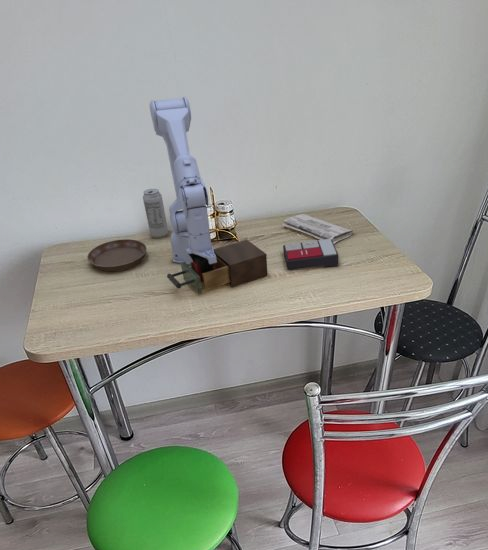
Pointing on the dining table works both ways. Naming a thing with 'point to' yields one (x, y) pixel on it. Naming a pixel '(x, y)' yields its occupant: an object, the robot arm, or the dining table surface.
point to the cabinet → (243, 262)
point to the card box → (199, 270)
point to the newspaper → (317, 227)
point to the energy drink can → (155, 213)
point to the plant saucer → (117, 254)
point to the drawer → (209, 278)
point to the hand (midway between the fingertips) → (205, 277)
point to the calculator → (310, 254)
